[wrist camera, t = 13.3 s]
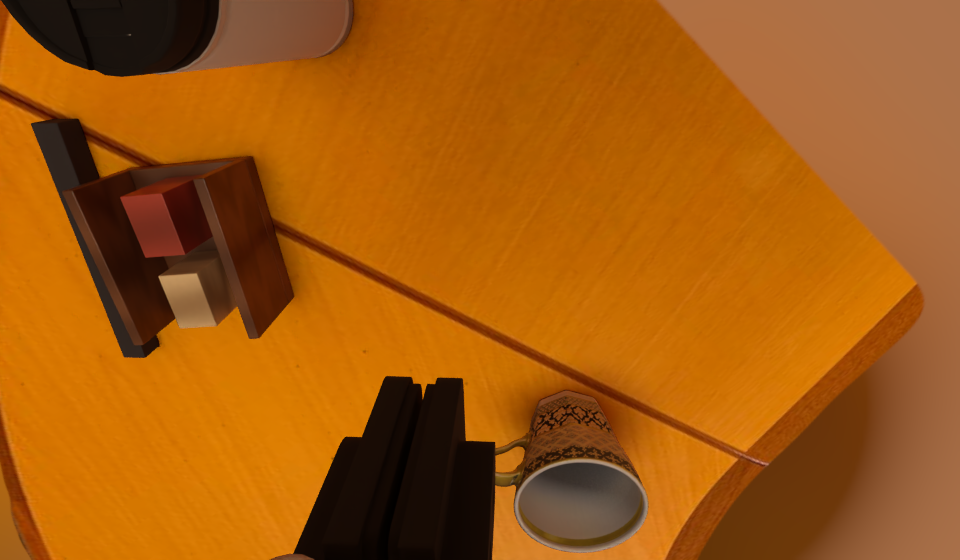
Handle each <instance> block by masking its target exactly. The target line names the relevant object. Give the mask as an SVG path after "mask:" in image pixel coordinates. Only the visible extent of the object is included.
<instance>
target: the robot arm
mask: <svg viewBox="0 0 960 560" xmlns="http://www.w3.org/2000/svg"><path fill="white" fill-rule="evenodd" d="M494 507H495V442H480V441H466V438H465V414H464V390H463V379H462V378H437V380H436V383H435V384H427V386H426V390H425V394H424V398H423V399H422V388H421V384H413V380H412V378H411V377H396V376H386V377H385V378H384V380H383V383H382V386H381V388H380V391H379V394H378V396H377V399H376V401H375V404H374V407H373V409H372V412H371V415H370V417H369V420H368V422H367V425H366V428H365V430H364V433H363V435H362V437H345V438H344V439H343V440H342V442H341V444H340V446H339V448H338V450H337V453H336V455H335V457H334V460H333V462H332V464H331V467H330V469H329V471H328V474H327V476H326V478H325V481H324V483H323V485H322V488H321V490H320V492H319V495H318V497H317V499H316V502H315V504H314V506H313V509H312V511H311V513H310V516H309V518H308V520H307V523H306V525H305V527H304V530H303V532H302V535H301V537H300V539H299V542H298V544H297V546H296V549H295V551H294V553H293V554H287V555H282V556H278V557H275V558H273V559H271V560H492V548H493V528H494Z"/></svg>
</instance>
